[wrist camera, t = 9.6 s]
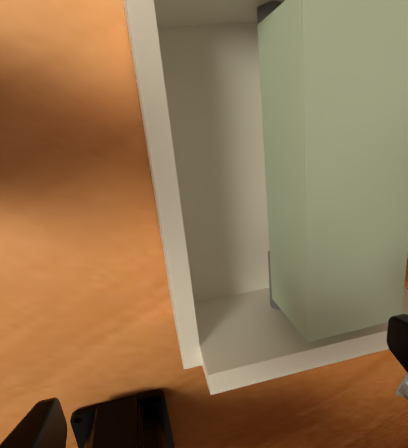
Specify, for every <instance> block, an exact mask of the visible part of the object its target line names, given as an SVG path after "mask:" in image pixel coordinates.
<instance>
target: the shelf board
mask: <svg viewBox="0 0 408 448" xmlns="http://www.w3.org/2000/svg"><path fill="white" fill-rule="evenodd" d="M257 30H258V48H259V67H260V85H261V104H262V122H263V140H264V159H265V177H266V195H267V214H268V232H269V251H270V269H271V287H272V299H273V300H274V301H275V303H276V304H277V305H278V306H279V308H280V309H281V310H282V311H283V313H284V314H285V315H286V316H287V318H288V319H289V320H290V321H291V322H292V324H293V325H294V326H295V327H296V329H297V330H298V331H299V332H300V334H301V335H302V336H303V337H304V339H305V340H306V341H307V342H312V341H315V340H319V339H323V338H327V337H331V336H335V335H339V334H343V333H347V332H351V331H355V330H359V329H363V328H367V327H370V326H374V325H378V324H382V323H386V322H388V320H389V318H390V317H392V316H395V315H400V314H402V306H403V296H404V286H405V276H406V266H407V256H408V0H285V1H284V2H283V3H282V4H281V5H279V6H278V7H277V8H276V9H275V10H274V11H273V12H272V13H270V14H269V15H268V16H267V17H266V18H265V19H264V20H263V21H261V22H260V23H259V24H258V25H257Z"/></svg>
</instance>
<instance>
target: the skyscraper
mask: <svg viewBox="0 0 408 448" xmlns="http://www.w3.org/2000/svg"><path fill="white" fill-rule="evenodd" d="M395 394H396V395H400V396H404V397H405V398H406V399H407V400H408V373H406V375H405V376H404V378H403V380H402V382H401V384H400V385H399V387H398V389H397V391H396V393H395Z"/></svg>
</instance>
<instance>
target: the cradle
mask: <svg viewBox="0 0 408 448" xmlns="http://www.w3.org/2000/svg"><path fill="white" fill-rule="evenodd" d="M284 1H285V0H124V9H125V15H126V21H127V28H128V34H129V40H130V46H131V53H132V59H133V65H134V72H135V78H136V84H137V90H138V97H139V103H140V109H141V115H142V122H143V128H144V134H145V141H146V147H147V153H148V159H149V166H150V172H151V178H152V184H153V191H154V197H155V203H156V209H157V216H158V222H159V228H160V235H161V241H162V247H163V253H164V260H165V266H166V272H167V278H168V285H169V291H170V297H171V304H172V310H173V316H174V321H175V326H176V332H177V337H178V342H179V347H180V352H181V357H182V362H183V367H184V369H188V368H192V367H196V366H200V365H202V366H203V370H204V373H205V377H206V380H207V384H208V388H209V391H210V395H213V394H217V393H221V392H225V391H228V390H232V389H236V388H240V387H244V386H248V385H251V384H255V383H259V382H263V381H267V380H271V379H275V378H278V377H282V376H286V375H290V374H294V373H298V372H301V371H305V370H309V369H313V368H317V367H321V366H324V365H328V364H332V363H336V362H340V361H344V360H347V359H351V358H355V357H359V356H363V355H367V354H371V353H374V352H378V351H382V350H386V349H389V347H388V345H387V341H386V339H387V329H388V322H386V323H382V324H378V325H374V326H370V327H367V328H363V329H359V330H355V331H351V332H347V333H343V334H339V335H335V336H331V337H327V338H323V339H319V340H315V341H312V342H307V341H306V340H305V339H304V337H303V336H302V335H301V334H300V332H299V331H298V330H297V329H296V327H295V326H294V325H293V324H292V322H291V321H290V320H289V319H288V318H287V316H286V315H285V314H284V313H283V311H282V310H281V309H280V308H279V306H278V305H277V304H276V303H275V301H274V300H273V299H272V287H271V269H270V251H269V232H268V214H267V195H266V177H265V159H264V140H263V122H262V104H261V85H260V67H259V48H258V30H257V25H258V24H259V23H260V22H261V21H263V20H264V19H265V18H266V17H267V16H268V15H269V14H270V13H272V12H273V11H274V10H275V9H276V8H277V7H278V6H279V5H281V4H282V3H283V2H284ZM402 314H407V315H408V289H407V288H405V287H404V296H403V306H402Z"/></svg>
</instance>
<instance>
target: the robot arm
mask: <svg viewBox="0 0 408 448" xmlns="http://www.w3.org/2000/svg"><path fill="white" fill-rule="evenodd" d="M386 341H387V345H388V347H389V349H390V351H391V352H392V353H393V354H394V356H395V357H396V358H397V360H398V361H399V362H400V364H401V365H402V366H403V367H404V369H405V370H406V371H407V373H408V315H407V314H400V315H395V316H392V317H390V318H389V320H388V329H387V339H386ZM157 397H160V398H157ZM70 422H71V426H72V429H73V432H74V435H75V438H76V441H77V444H78V447H79V448H174V443H173V438H172V432H171V427H170V422H169V416H168V411H167V406H166V400H165V395H164V392H163V391H161V390H156V391H152V392H148V393H144V394H140V395H136V396H132V397H128V398H124V399H120V400H116V401H112V402H108V403H104V404H100V405H96V406H92V407H88V408H84V409H80V410H76V411H74V412H73V413H72V416H71V420H70ZM66 438H67V423H66V420H65V417H64V414H63V410H62V407H61V404H60V401H59V400H58V398H50V399H46V400H42V401H39V402H38V403H37V404H36V405H35V406H34V407H33V408H32V409H31V410H30V411H29V413H28V414H27V415H26V416H25V417H24V418H23V419H22V420H21V422H20V423H19V424H18V425H17V426H16V427H15V428H14V430H13V431H12V432H11V433H10V434H9V435H8V436H7V438H6V439H5V440H4V441H3V442H2V443H1V444H0V448H66Z"/></svg>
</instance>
